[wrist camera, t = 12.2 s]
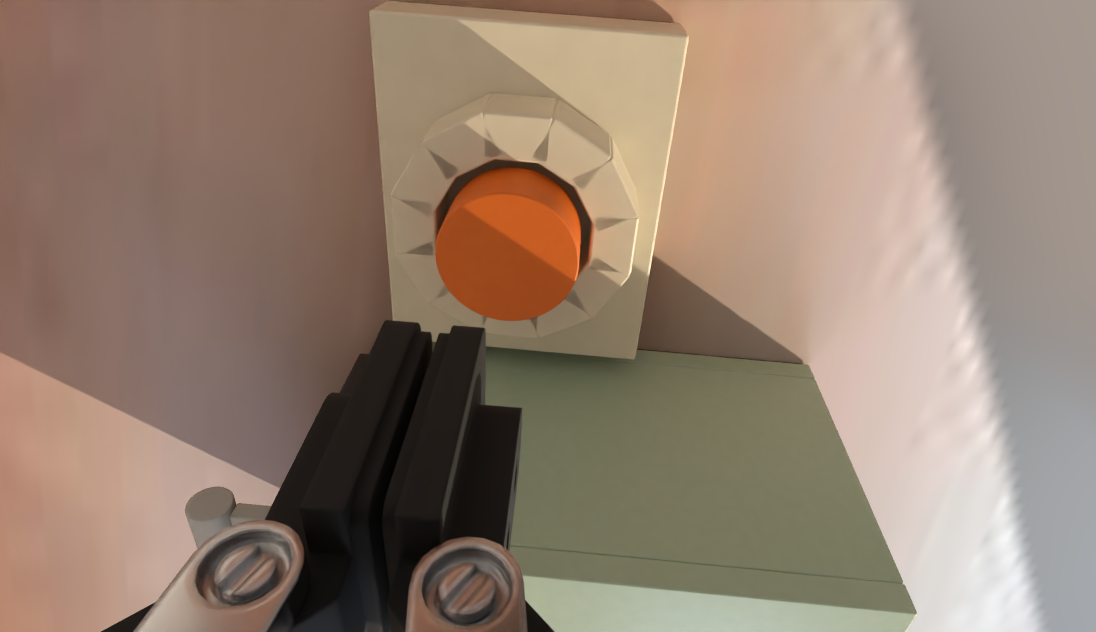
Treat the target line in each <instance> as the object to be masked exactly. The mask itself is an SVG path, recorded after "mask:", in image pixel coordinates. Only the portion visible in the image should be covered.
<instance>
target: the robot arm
mask: <svg viewBox="0 0 1096 632" xmlns="http://www.w3.org/2000/svg"><path fill="white" fill-rule="evenodd" d="M485 384H486V330H485V328H481V327H469V326H456V325H453V326H452V328H451V331H450V333H439V335H438V338H437V341H436V344H435V347H434V350H433V349H432V335H431V332H424V331H421V327H420V324H419V323H418V322H405V321H392V320H386V321H385V322H384V324H383V325H382V328H381V330H380V332H379V334H378V336H377V339H376V341H375V343H374V345H373V347H372V349H371V352H370V354H369V356H368V358H367V360H366V363H365V365H364V367H363V369H362V371H361V374H360V376H359V378H358V380H357V382H356V384H355V387H354V389H353V391H352V393H351V394H342V393H331V394H330V395H328V396H327V398H326V399H325V401H324V403H323V405H322V407H321V409H320V411H319V413H318V414H317V416H316V418H315V420H314V422H313V424H312V426H311V428H310V430H309V432H308V434H307V436H306V438H305V440H304V442H303V444H302V446H301V448H300V450H299V452H298V454H297V456H296V458H295V460H294V462H293V464H292V466H291V468H290V470H289V472H288V474H287V476H286V478H285V480H284V482H283V484H282V486H281V488H280V490H279V492H278V494H277V496H276V498H275V500H274V502H273V504H272V506H271V508H270V510H269V512H268V514H267V516H266V518H265V520H252V521H246V522H241V523H238V524H235V525H233V526H230V527H228V528H225V529H223V530H221V531H220V532H218V533H217V534H215V535H214V536H212V537H210V538H209V539H207V540H206V541H205V542H204V543H203V544H202V545H201V546H200V547H199V548H198V549H197V550H196V551H195V552H194V553H193V554H192V556H191V557H190V558H189V560H188V561H187V562H186V564H185V565H184V566H183V567H182V569H181V570H180V571H179V573H178V574H177V575H176V577H175V578H174V579H173V580H172V582H171V583H170V584H169V586H168V587H167V588H166V590H165V591H164V592H163V593H162V595H161V596H160V597H159V599H158V600H157V601H156V602H155V603H153V604H151V605H149V606H148V607H146V608H144V609H142V610H140V611H138V612H137V613H135V614H133V615H131V616H129V617H127V618H125V619H124V620H122V621H120V622H118V623H116V624H114V625H113V626H111V627H109V628H107V629H105V630H103V631H101V632H554V630H553V629H552V628H551V627H550V626H549V625H548V624H547V623H546V622H545V621H544V620H543V619H542V617H541V616H540V615H539V614H538V613H537V612H536V611H535V610H534V609H533V608H532V607H531V606H530V604H529V603H528V602H527V601H526V600H525V591H524V580H523V576H522V572H521V568H520V565H519V564H518V562H517V561H516V559H515V558H514V557H513V555H512V554H511V553H510V552H509V550H510V542H511V533H512V525H513V517H514V508H515V500H516V491H517V482H518V472H519V461H520V448H521V429H522V408H518V407H505V406H493V405H485Z"/></svg>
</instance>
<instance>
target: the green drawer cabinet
mask: <svg viewBox="0 0 1096 632" xmlns="http://www.w3.org/2000/svg"><path fill="white" fill-rule="evenodd" d="M435 344H436V342H432V349H433V350H434V347H435ZM485 405H493V406H505V407H518V408H522V429H521V448H520V461H519V472H518V482H517V491H516V500H515V508H514V517H513V525H512V533H511V542H510V550H509V552H510V553H511V554H512V555H513V557H514V558H515V559H516V561H517V562H518V564H519V565H520V568H521V572H522V576H523V580H524V591H525V600H526V601H527V602H528V603H529V604H530V606H531V607H532V608H533V609H534V610H535V611H536V612H537V613H538V614H539V615H540V616H541V617H542V619H543V620H544V621H545V622H546V623H547V624H548V625H549V626H550V627H551V628H552V629H553V630H554V632H906V631H907V629H908V628H909V626H910V624H911V623H912V621H913V619H914V618H915V616H916V615H917V612H916V609H915V607H914V605H913V603H912V600H911V598H910V596H909V593H908V591H907V589H906V587H905V585H904V584H903V580H902V578H901V576H900V573H899V571H898V569H897V567H896V564H895V562H894V560H893V557H892V555H891V553H890V550H889V548H888V546H887V544H886V541H885V539H884V537H883V534H882V532H881V530H880V528H879V525H878V523H877V521H876V518H875V516H874V514H873V511H872V509H871V507H870V505H869V502H868V500H867V498H866V495H865V493H864V491H863V488H862V486H861V484H860V482H859V479H858V477H857V475H856V472H855V470H854V468H853V466H852V463H851V461H850V459H849V456H848V454H847V452H846V449H845V447H844V445H843V443H842V440H841V438H840V436H839V433H838V431H837V429H836V427H835V424H834V422H833V420H832V417H831V415H830V413H829V410H828V408H827V406H826V404H825V401H824V399H823V397H822V394H821V392H820V390H819V387H818V385H817V383H816V381H815V379H814V376H813V373H812V371H811V369H810V367H809V365H803V364H792V363H781V362H770V361H759V360H748V359H736V358H725V357H714V356H703V355H692V354H681V353H670V352H659V351H648V350H637V353H636V358H635V359H634V360H631V359H620V358H609V357H598V356H587V355H576V354H565V353H554V352H543V351H532V350H521V349H509V348H498V347H487V346H486V384H485Z"/></svg>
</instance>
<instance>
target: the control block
mask: <svg viewBox="0 0 1096 632" xmlns="http://www.w3.org/2000/svg"><path fill="white" fill-rule="evenodd" d="M369 20H370V33H371V46H372V59H373V71H374V84H375V97H376V110H377V123H378V136H379V149H380V161H381V174H382V187H383V200H384V213H385V226H386V239H387V251H388V264H389V277H390V290H391V303H392V316H393V321H405V322H418V323H419V324H420V327H421V331H424V332H431V335H432V342H436V341H437V338H438V335H439V333H450V331H451V328H452V326H453V325H456V326H469V327H481V328H485V330H486V346H487V347H498V348H509V349H521V350H532V351H543V352H554V353H565V354H576V355H587V356H598V357H609V358H620V359H631V360H634V359H635V358H636V353H637V347H638V341H639V335H640V329H641V323H642V316H643V310H644V304H645V298H646V292H647V286H648V280H649V274H650V268H651V262H652V256H653V250H654V244H655V238H656V232H657V226H658V220H659V214H660V208H661V202H662V196H663V190H664V184H665V178H666V172H667V166H668V160H669V154H670V148H671V142H672V136H673V130H674V124H675V118H676V112H677V106H678V100H679V94H680V88H681V82H682V76H683V70H684V64H685V58H686V52H687V46H688V40H689V37H688V34H687V33H686V31H685V29H684V28H683V26H682V25H681V24H678V23H665V22H652V21H639V20H627V19H614V18H601V17H588V16H576V15H563V14H550V13H537V12H525V11H512V10H499V9H486V8H474V7H461V6H448V5H435V4H423V3H410V2H397V1H387V2H385V3H383V4H381V5H379V6H377V7H375V8H373V9H371V10H370V11H369ZM505 167H517V168H524V169H528V170H532V171H535V172H538V173H540V174H542V175H544V176H546V177H548V178H550V179H551V180H553V181H554V182H555V183H557V184H558V185H559V186H560V187H561V188H562V189H563V190H564V191H565V192H566V193H567V194H568V196H569V197H570V198H571V200H572V202H573V203H574V205H575V207H576V210H577V212H578V215H579V219H580V224H581V244H580V260H579V270H578V275H577V278H576V281H575V284H574V286H573V288H572V289H571V291H570V292H569V294H568V295H567V297H566V298H565V299H564V300H563V301H562V302H561V303H560V304H559V305H557V306H556V307H555V308H553V309H552V310H550V311H549V312H547V313H545V314H543V315H540V316H538V317H535V318H532V319H527V320H521V321H503V320H496V319H492V318H488V317H485V316H483V315H480V314H478V313H476V312H474V311H472V310H470V309H469V308H467V307H466V306H464V305H463V304H462V303H460V302H459V301H458V300H457V299H456V298H455V297H454V296H453V295H452V294H451V293H450V291H449V290H448V289H447V287H446V286H445V284H444V282H443V280H442V279H441V276H440V274H439V271H438V268H437V264H436V257H435V245H436V240H437V236H438V233H439V230H440V228H441V226H442V224H443V222H444V219H445V217H446V215H447V213H448V211H449V209H450V207H451V205H452V203H453V201H454V199H455V197H456V195H457V194H458V192H459V191H460V190H461V188H462V187H463V186H464V185H465V184H466V183H468V182H469V181H470V180H472V179H473V178H474V177H476V176H478V175H480V174H482V173H484V172H487V171H489V170H493V169H497V168H505Z"/></svg>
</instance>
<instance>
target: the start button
mask: <svg viewBox="0 0 1096 632" xmlns="http://www.w3.org/2000/svg"><path fill="white" fill-rule="evenodd" d="M580 244H581V224H580V219H579V215H578V212H577V210H576V207H575V205H574V203H573V202H572V200H571V198H570V197H569V196H568V194H567V193H566V192H565V191H564V190H563V189H562V188H561V187H560V186H559V185H558V184H557V183H555V182H554V181H553V180H551V179H550V178H548V177H546V176H544V175H542V174H540V173H538V172H535V171H532V170H528V169H524V168H517V167H505V168H497V169H493V170H489V171H487V172H484V173H482V174H480V175H478V176H476V177H474V178H473V179H472V180H470V181H469V182H468V183H466V184H465V185H464V186H463V187H462V188H461V190H460V191H459V192H458V194H457V195H456V197H455V199H454V201H453V203H452V205H451V207H450V209H449V211H448V213H447V215H446V217H445V219H444V222H443V224H442V226H441V228H440V230H439V233H438V236H437V240H436V245H435V257H436V264H437V268H438V271H439V274H440V276H441V279H442V280H443V282H444V284H445V286H446V287H447V289H448V290H449V291H450V293H451V294H452V295H453V296H454V297H455V298H456V299H457V300H458V301H459V302H460V303H462V304H463V305H464V306H466V307H467V308H469V309H470V310H472V311H474V312H476V313H478V314H480V315H483V316H485V317H488V318H492V319H496V320H503V321H521V320H527V319H532V318H535V317H538V316H540V315H543V314H545V313H547V312H549V311H550V310H552V309H553V308H555V307H556V306H557V305H559V304H560V303H561V302H562V301H563V300H564V299H565V298H566V297H567V295H568V294H569V292H570V291H571V289H572V288H573V286H574V284H575V281H576V278H577V275H578V270H579V260H580Z"/></svg>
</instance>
